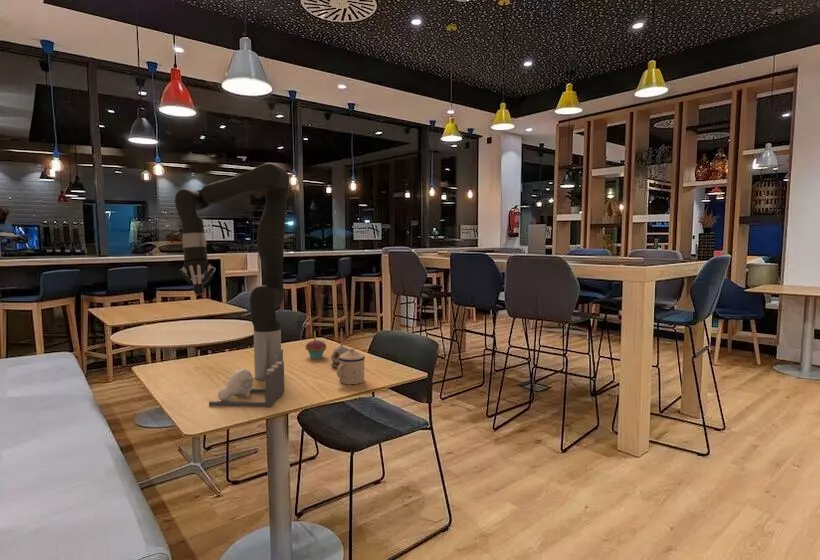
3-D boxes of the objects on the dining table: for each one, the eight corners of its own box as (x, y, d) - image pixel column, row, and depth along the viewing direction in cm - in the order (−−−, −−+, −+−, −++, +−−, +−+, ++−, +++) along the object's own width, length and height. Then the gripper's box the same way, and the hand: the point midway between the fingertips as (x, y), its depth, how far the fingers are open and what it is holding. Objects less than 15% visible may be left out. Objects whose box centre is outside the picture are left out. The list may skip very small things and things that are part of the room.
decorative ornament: (328, 365, 182) (328, 327, 181) (346, 362, 186) (346, 326, 185) (336, 370, 176) (335, 331, 174) (354, 367, 179) (354, 329, 178)
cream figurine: (254, 367, 147) (226, 382, 136) (257, 393, 148) (229, 409, 137) (239, 365, 149) (210, 379, 138) (241, 390, 151) (213, 405, 140)
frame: (285, 391, 150) (284, 359, 149) (271, 407, 136) (270, 372, 135) (227, 391, 151) (227, 359, 150) (208, 406, 137) (207, 371, 136)
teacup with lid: (350, 375, 168) (350, 344, 167) (370, 380, 163) (370, 347, 162) (327, 384, 158) (327, 351, 157) (347, 389, 153) (347, 354, 152)
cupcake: (324, 360, 190) (323, 331, 189) (303, 359, 190) (303, 331, 189) (328, 354, 198) (327, 327, 197) (308, 354, 198) (307, 327, 197)
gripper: (171, 247, 160) (176, 297, 161) (210, 244, 162) (215, 293, 163) (179, 247, 167) (183, 295, 168) (217, 245, 169) (221, 292, 170)
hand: (199, 294), depth 165 cm, fingers closed
